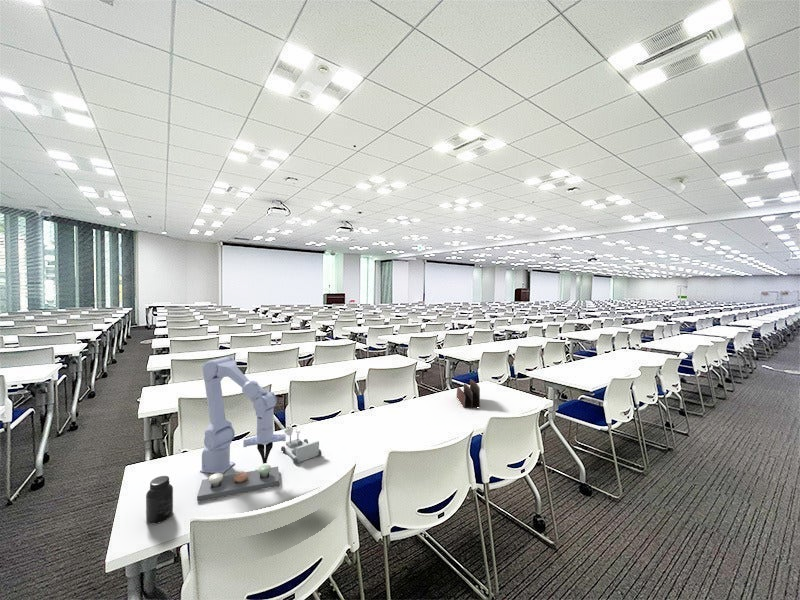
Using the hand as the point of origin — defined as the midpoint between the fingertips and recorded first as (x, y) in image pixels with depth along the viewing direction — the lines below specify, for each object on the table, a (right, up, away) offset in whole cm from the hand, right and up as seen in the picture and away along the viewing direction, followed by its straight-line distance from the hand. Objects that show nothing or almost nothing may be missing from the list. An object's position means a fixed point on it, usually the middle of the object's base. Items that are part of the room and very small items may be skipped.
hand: (264, 462), depth 123 cm
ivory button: (-15, -5, -6) cm, 17 cm away
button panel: (-8, -7, -3) cm, 11 cm away
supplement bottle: (-25, -8, -20) cm, 33 cm away
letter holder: (+95, -7, +90) cm, 131 cm away
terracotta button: (-8, -7, -3) cm, 10 cm away
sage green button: (0, -6, 0) cm, 5 cm away
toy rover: (+6, -7, +22) cm, 24 cm away
